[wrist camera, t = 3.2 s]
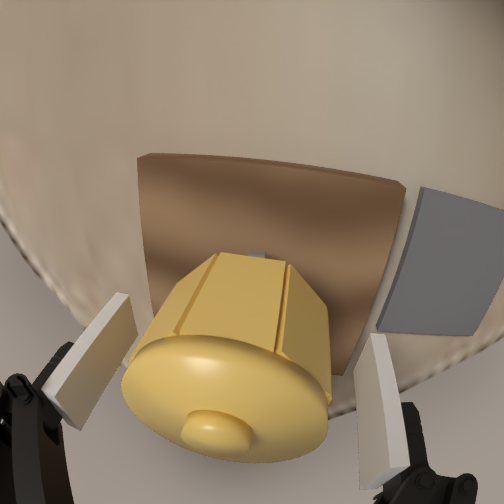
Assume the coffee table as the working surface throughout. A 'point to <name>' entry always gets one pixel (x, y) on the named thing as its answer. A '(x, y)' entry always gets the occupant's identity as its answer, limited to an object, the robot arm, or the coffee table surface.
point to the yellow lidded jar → (236, 363)
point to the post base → (272, 228)
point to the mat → (446, 267)
